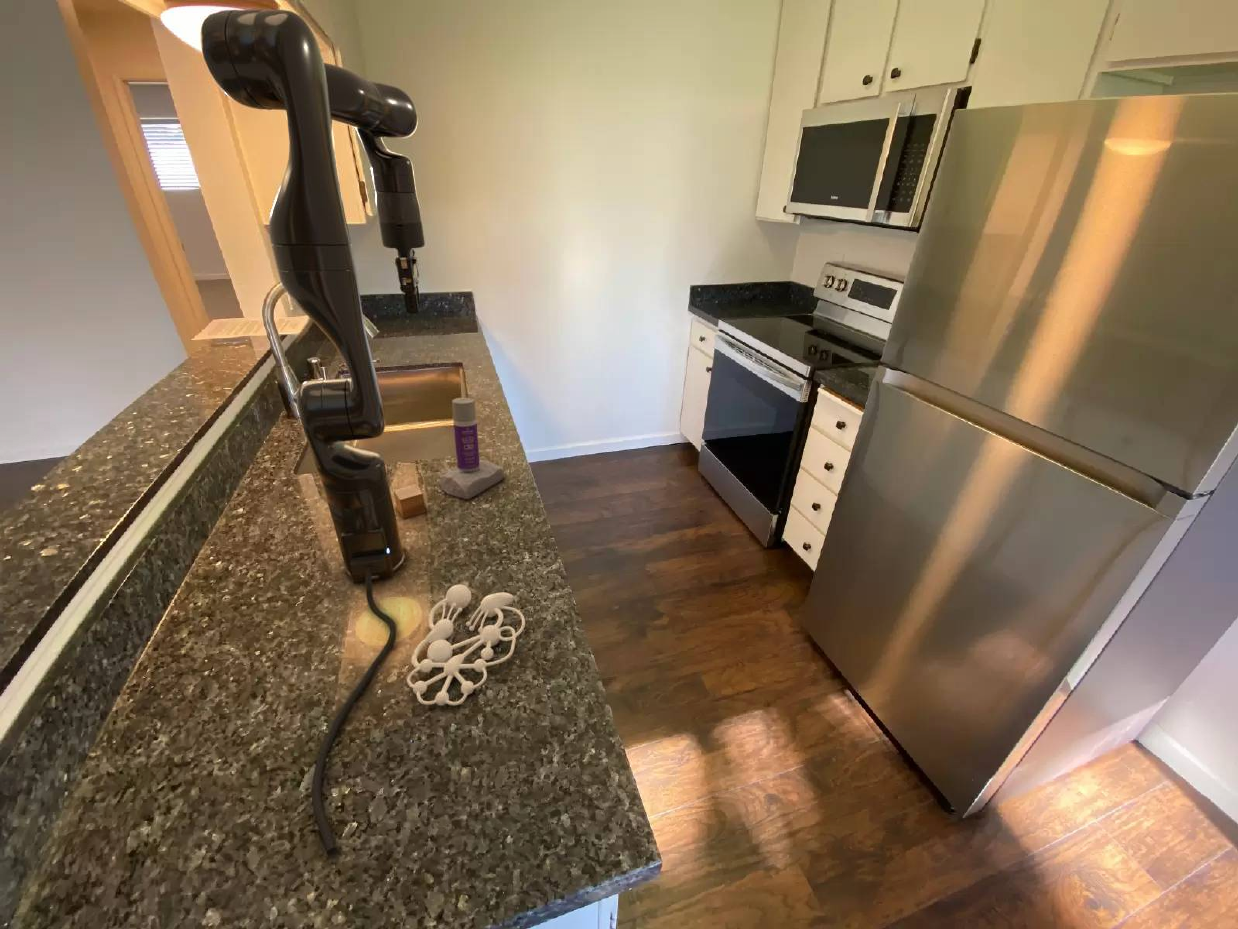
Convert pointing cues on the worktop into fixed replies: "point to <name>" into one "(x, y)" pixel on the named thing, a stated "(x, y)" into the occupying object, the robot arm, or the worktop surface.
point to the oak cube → (409, 501)
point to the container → (465, 434)
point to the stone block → (471, 480)
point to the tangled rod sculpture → (461, 643)
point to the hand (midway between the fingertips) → (413, 308)
